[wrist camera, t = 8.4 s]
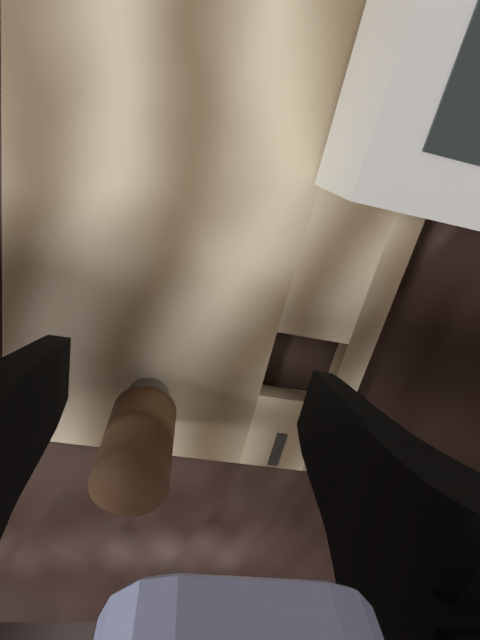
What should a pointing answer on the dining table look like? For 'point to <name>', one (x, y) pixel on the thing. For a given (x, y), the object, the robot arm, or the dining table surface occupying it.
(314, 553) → the dining table surface
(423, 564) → the robot arm
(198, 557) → the dining table surface
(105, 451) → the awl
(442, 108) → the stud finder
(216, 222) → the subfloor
